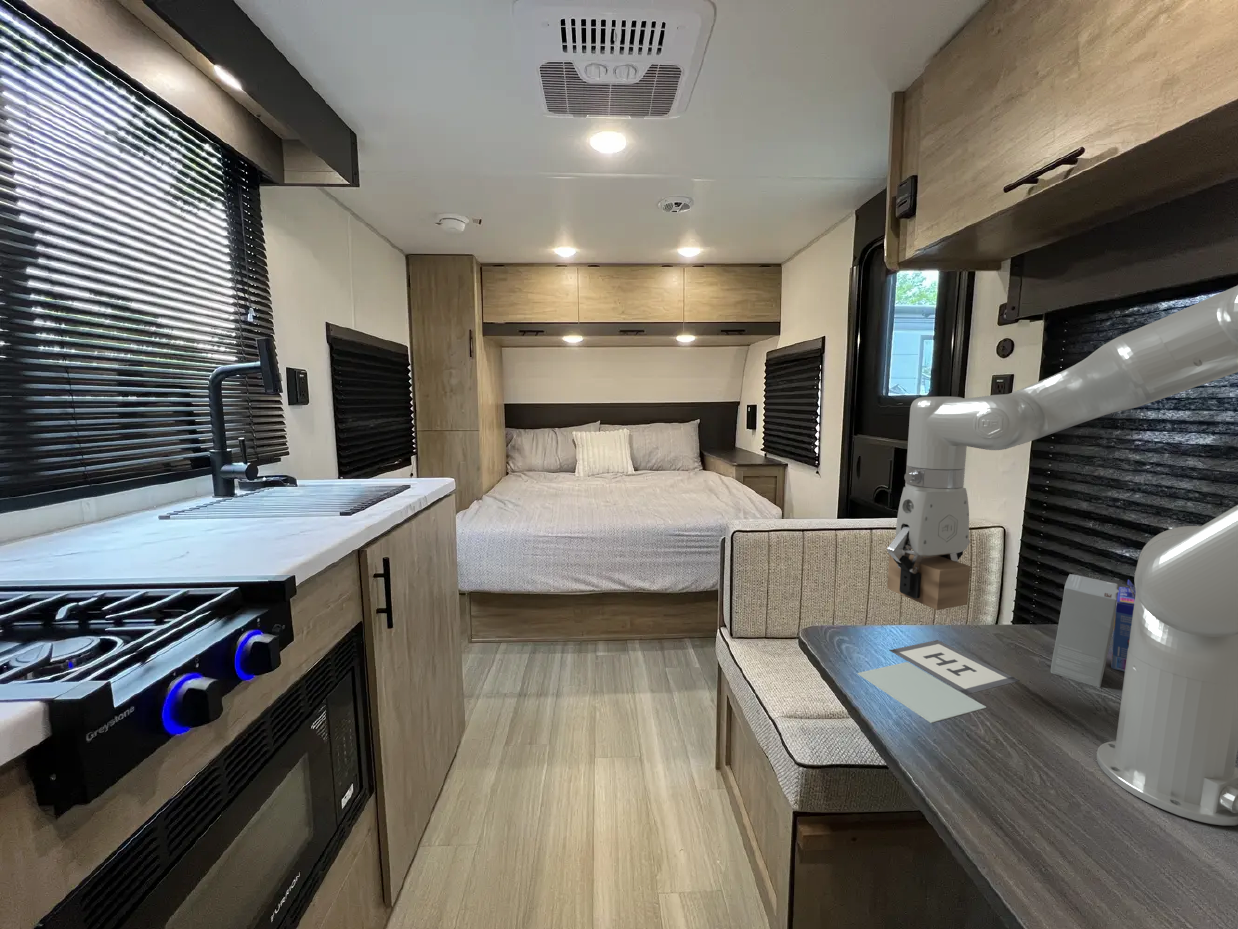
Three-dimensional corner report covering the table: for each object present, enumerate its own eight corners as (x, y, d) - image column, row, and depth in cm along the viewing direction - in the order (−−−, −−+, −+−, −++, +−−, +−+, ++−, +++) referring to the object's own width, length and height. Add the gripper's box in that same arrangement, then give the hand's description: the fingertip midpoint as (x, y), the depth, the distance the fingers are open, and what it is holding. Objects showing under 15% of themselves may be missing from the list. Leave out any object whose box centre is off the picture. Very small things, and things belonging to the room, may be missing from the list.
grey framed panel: (1019, 686, 84) (1019, 680, 84) (966, 700, 80) (966, 694, 80) (937, 645, 98) (937, 639, 98) (888, 655, 94) (888, 650, 94)
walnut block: (967, 604, 76) (970, 566, 76) (936, 610, 75) (939, 570, 74) (915, 584, 85) (918, 549, 84) (887, 588, 83) (889, 553, 82)
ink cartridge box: (1110, 648, 95) (1119, 573, 93) (1153, 658, 91) (1164, 580, 89) (1108, 668, 88) (1118, 587, 86) (1154, 680, 84) (1166, 596, 82)
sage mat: (985, 713, 77) (986, 707, 77) (930, 728, 73) (931, 722, 73) (907, 667, 90) (907, 661, 90) (857, 678, 87) (857, 673, 86)
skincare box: (1054, 656, 92) (1063, 571, 90) (1109, 671, 87) (1120, 581, 85) (1048, 674, 86) (1058, 584, 84) (1106, 691, 81) (1118, 595, 79)
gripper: (911, 486, 71) (903, 609, 73) (1000, 479, 76) (990, 594, 79) (869, 478, 78) (863, 591, 80) (953, 472, 83) (945, 578, 86)
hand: (926, 591), depth 80 cm, fingers closed on walnut block, 6 cm apart
